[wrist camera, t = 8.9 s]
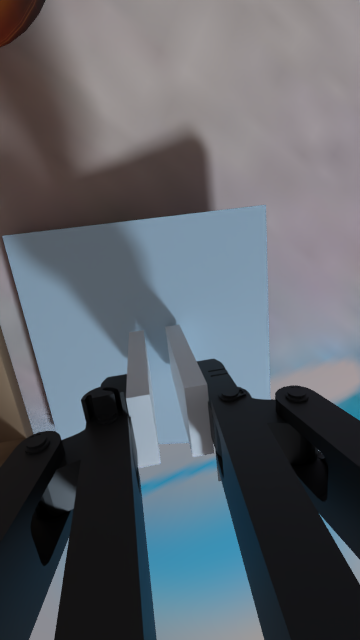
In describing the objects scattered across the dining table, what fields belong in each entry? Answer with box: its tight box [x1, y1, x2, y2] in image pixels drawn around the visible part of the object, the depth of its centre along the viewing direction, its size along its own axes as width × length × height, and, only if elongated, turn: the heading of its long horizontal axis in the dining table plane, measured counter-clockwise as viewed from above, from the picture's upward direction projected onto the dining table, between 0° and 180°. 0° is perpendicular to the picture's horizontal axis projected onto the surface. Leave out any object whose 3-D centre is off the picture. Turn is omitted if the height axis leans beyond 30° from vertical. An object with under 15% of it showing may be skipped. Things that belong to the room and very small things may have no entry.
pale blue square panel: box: [2, 205, 270, 444], centre depth 17 cm, size 13×13×1 cm
